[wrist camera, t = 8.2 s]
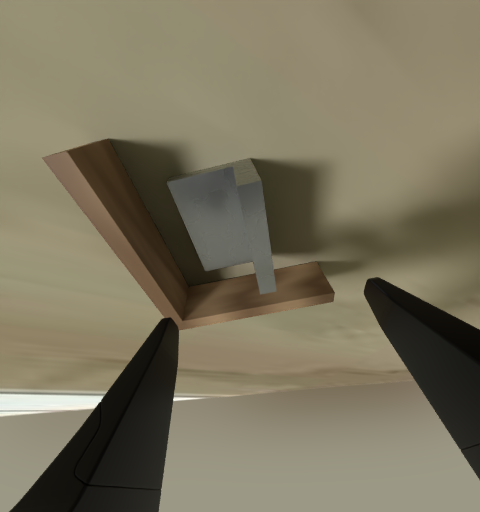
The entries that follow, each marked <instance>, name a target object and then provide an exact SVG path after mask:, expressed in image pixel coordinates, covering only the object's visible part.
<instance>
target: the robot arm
mask: <svg viewBox="0 0 480 512" xmlns="http://www.w3.org/2000/svg"><path fill="white" fill-rule="evenodd" d="M364 295H365V297H366V299H367V301H368V303H369V305H370V307H371V309H372V311H373V313H374V315H375V317H376V319H377V321H378V323H379V325H380V327H381V328H382V330H383V332H384V333H385V335H386V336H387V338H388V339H389V341H390V342H391V344H392V346H393V347H394V349H395V350H396V352H397V353H398V355H399V356H400V358H401V359H402V361H403V362H404V364H405V366H406V367H407V369H408V370H409V372H410V373H411V375H412V376H413V378H414V379H415V381H416V382H417V384H418V385H419V387H420V389H421V390H422V392H423V393H424V395H425V396H426V398H427V399H428V401H429V402H430V404H431V405H432V407H433V408H434V410H435V412H436V413H437V415H438V416H439V418H440V419H441V421H442V422H443V424H444V425H445V427H446V429H447V430H448V431H449V433H450V435H451V436H452V438H453V439H454V441H455V442H456V444H457V445H458V447H459V448H460V449H461V452H462V453H463V455H464V456H465V458H466V459H467V461H468V462H469V464H470V466H471V467H472V468H473V470H474V472H475V473H476V475H477V476H478V478H479V479H480V330H479V329H477V328H475V327H474V326H472V325H470V324H468V323H466V322H464V321H462V320H460V319H458V318H456V317H454V316H452V315H450V314H448V313H447V312H445V311H443V310H441V309H439V308H437V307H435V306H433V305H431V304H429V303H427V302H425V301H423V300H421V299H420V298H418V297H416V296H414V295H412V294H410V293H408V292H406V291H404V290H402V289H400V288H398V287H396V286H394V285H393V284H391V283H389V282H387V281H385V280H383V279H381V278H378V277H375V278H370V279H368V280H367V282H366V285H365V289H364ZM178 346H179V328H178V326H177V324H176V323H175V322H174V320H173V319H172V318H171V317H168V318H163V319H162V320H161V321H160V322H159V323H158V325H157V326H156V327H155V329H154V330H153V331H152V333H151V334H150V335H149V337H148V338H147V339H146V341H145V342H144V343H143V345H142V346H141V347H140V349H139V350H138V351H137V353H136V354H135V355H134V357H133V358H132V359H131V361H130V362H129V364H128V365H127V366H126V368H125V369H124V370H123V372H122V373H121V374H120V376H119V377H118V378H117V380H116V381H115V382H114V384H113V385H112V386H111V388H110V389H109V390H108V392H107V393H106V394H105V396H104V397H103V399H102V400H101V402H100V403H99V404H98V405H97V406H96V408H95V409H94V411H93V412H92V413H91V415H90V416H89V417H88V418H87V420H86V421H85V422H84V424H83V425H82V426H81V428H80V429H79V430H78V431H77V433H76V434H75V435H74V436H73V438H72V439H71V440H70V441H69V443H68V444H67V445H66V446H65V447H64V449H63V450H62V451H61V452H60V453H59V455H58V456H57V457H56V458H55V459H54V461H53V462H52V463H51V464H50V465H49V467H48V468H47V469H46V470H45V471H44V473H43V474H42V475H41V476H40V477H39V479H38V480H37V481H36V482H35V484H34V485H33V486H32V487H31V488H30V489H29V491H28V492H27V493H26V494H25V495H24V496H23V498H22V499H21V500H20V501H19V502H18V503H17V504H16V505H15V506H14V507H13V509H11V510H10V511H9V512H158V511H159V504H160V496H161V488H162V480H163V473H164V465H165V458H166V450H167V443H168V435H169V427H170V420H171V413H172V405H173V398H174V390H175V382H176V375H177V367H178Z"/></svg>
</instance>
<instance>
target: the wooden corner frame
mask: <svg viewBox="0 0 480 512" xmlns="http://www.w3.org/2000/svg"><path fill="white" fill-rule="evenodd" d="M42 159H43V160H44V161H45V163H46V164H47V165H48V167H49V168H50V169H51V170H52V172H53V173H54V174H55V176H56V177H57V178H58V180H59V181H60V182H61V183H62V185H63V186H64V187H65V189H66V190H67V191H68V193H69V194H70V195H71V196H72V198H73V199H74V200H75V202H76V203H77V204H78V206H79V207H80V208H81V209H82V211H83V212H84V213H85V215H86V216H87V217H88V219H89V220H90V221H91V222H92V224H93V225H94V226H95V228H96V229H97V230H98V232H99V233H100V234H101V236H102V237H103V238H104V239H105V241H106V242H107V243H108V245H109V246H110V247H111V249H112V250H113V251H114V252H115V254H116V255H117V256H118V258H119V259H120V260H121V262H122V263H123V264H124V265H125V267H126V268H127V269H128V271H129V272H130V273H131V275H132V276H133V277H134V278H135V280H136V281H137V282H138V284H139V285H140V286H141V288H142V289H143V290H144V291H145V293H146V294H147V295H148V297H149V298H150V299H151V301H152V302H153V303H154V304H155V306H156V307H157V308H158V310H159V311H160V312H161V314H162V315H163V316H164V317H165V318H168V317H171V318H172V319H173V320H174V322H175V323H176V324H177V326H178V328H179V330H183V329H189V328H194V327H199V326H205V325H210V324H216V323H221V322H226V321H232V320H237V319H243V318H248V317H253V316H259V315H264V314H270V313H275V312H280V311H286V310H291V309H297V308H302V307H307V306H313V305H318V304H324V303H329V302H333V301H334V294H335V292H334V291H333V289H332V287H331V286H330V284H329V282H328V281H327V279H326V277H325V276H324V274H323V272H322V271H321V269H320V267H319V266H318V264H317V262H311V263H306V264H301V265H296V266H291V267H286V268H281V269H276V270H274V276H275V283H276V292H271V293H266V294H261V295H260V291H259V286H258V282H257V277H256V274H251V275H246V276H241V277H236V278H231V279H226V280H221V281H216V282H211V283H206V284H201V285H196V286H191V287H188V285H187V283H186V281H185V279H184V277H183V275H182V274H181V272H180V270H179V268H178V266H177V264H176V263H175V261H174V259H173V257H172V255H171V253H170V252H169V250H168V248H167V246H166V244H165V242H164V240H163V239H162V237H161V235H160V233H159V231H158V229H157V228H156V226H155V224H154V222H153V220H152V218H151V217H150V215H149V213H148V211H147V209H146V207H145V205H144V204H143V202H142V200H141V198H140V196H139V194H138V193H137V191H136V189H135V187H134V185H133V183H132V181H131V180H130V178H129V176H128V174H127V172H126V170H125V169H124V167H123V165H122V163H121V161H120V159H119V158H118V156H117V154H116V152H115V150H114V148H113V146H112V145H111V143H110V141H109V139H105V140H101V141H97V142H93V143H89V144H86V145H83V146H79V147H76V148H73V149H69V150H66V151H63V152H59V153H56V154H53V155H49V156H46V157H43V158H42Z"/></svg>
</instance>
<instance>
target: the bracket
mask: <svg viewBox="0 0 480 512" xmlns="http://www.w3.org/2000/svg"><path fill="white" fill-rule="evenodd" d="M166 183H167V185H168V187H169V189H170V192H171V194H172V196H173V199H174V201H175V203H176V205H177V208H178V210H179V212H180V215H181V217H182V219H183V221H184V224H185V226H186V228H187V231H188V233H189V235H190V237H191V240H192V242H193V244H194V247H195V249H196V251H197V253H198V256H199V258H200V260H201V263H202V265H203V267H204V269H205V271H210V270H214V269H219V268H224V267H229V266H234V265H239V264H243V263H248V262H253V264H254V268H255V273H256V277H257V282H258V286H259V291H260V295H261V294H266V293H271V292H276V283H275V276H274V269H273V261H272V254H271V246H270V239H269V232H268V224H267V217H266V210H265V202H264V195H263V188H262V180H261V179H260V177H259V175H258V173H257V171H256V169H255V167H254V165H253V163H252V161H251V159H250V158H248V159H244V160H240V161H236V162H232V163H228V164H224V165H220V166H215V167H211V168H207V169H203V170H199V171H195V172H191V173H187V174H183V175H179V176H175V177H171V178H169V180H168V181H167V182H166Z"/></svg>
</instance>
